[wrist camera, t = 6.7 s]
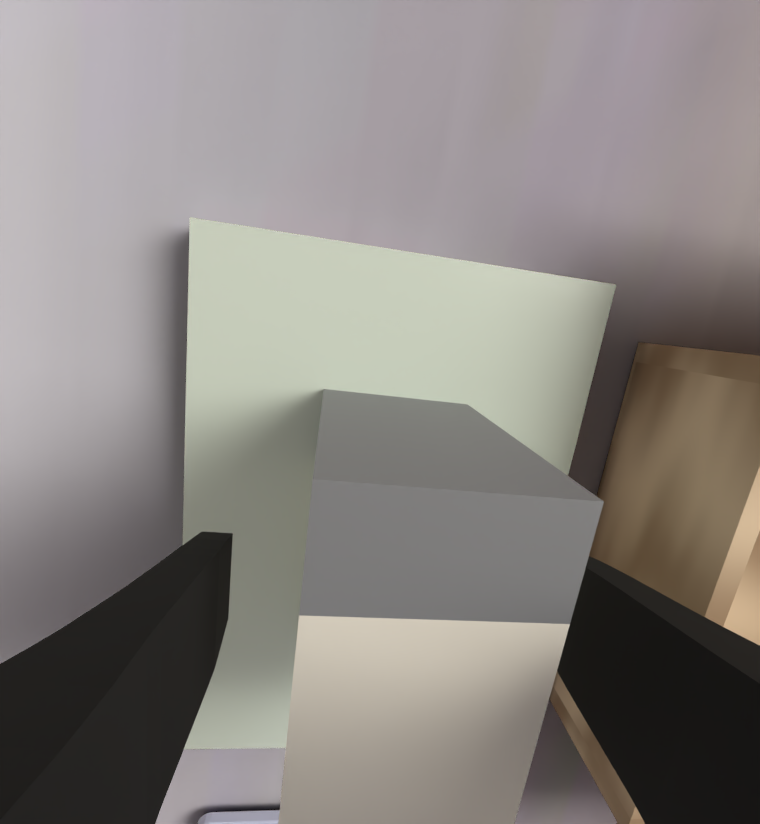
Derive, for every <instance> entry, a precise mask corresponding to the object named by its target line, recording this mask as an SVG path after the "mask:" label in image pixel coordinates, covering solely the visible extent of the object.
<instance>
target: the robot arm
mask: <svg viewBox="0 0 760 824" xmlns="http://www.w3.org/2000/svg"><path fill="white" fill-rule="evenodd" d="M232 539H233V533H220V532H200V533H199V534H198V535H196V536H195V537H193V538H192V539H191V540H189V541H188V542H187V543H185V544H184V545H182V546H181V547H180V548H178V549H177V550H176V551H174V552H173V553H172V554H170V555H169V556H168V557H166V558H165V559H164V560H162V561H161V562H160V563H158V564H157V565H155V566H154V567H153V568H151V569H150V570H148V571H147V572H146V573H144V574H143V575H142V576H140V577H139V578H137V579H136V580H135V581H133V582H132V583H130V584H129V585H128V586H126V587H125V588H123V589H122V590H120V591H119V592H117V593H116V594H114V595H113V596H111V597H109V598H108V599H106V600H105V601H103V602H102V603H100V604H99V605H97V606H96V607H94V608H93V609H91V610H90V611H88V612H86V613H85V614H83V615H82V616H80V617H79V618H77V619H76V620H74V621H73V622H71V623H70V624H68V625H67V626H65V627H63V628H62V629H60V630H58V631H57V632H55V633H53V634H52V635H50V636H48V637H47V638H45V639H43V640H42V641H40V642H38V643H37V644H35V645H33V646H31V647H30V648H28V649H26V650H24V651H23V652H21V653H19V654H17V655H15V656H14V657H12V658H10V659H8V660H7V661H5V662H3V663H1V664H0V824H155V822H156V819H157V817H158V814H159V811H160V808H161V806H162V803H163V801H164V798H165V796H166V793H167V790H168V788H169V785H170V783H171V780H172V778H173V775H174V773H175V770H176V767H177V765H178V762H179V760H180V757H181V755H182V752H183V750H184V747H185V744H186V742H187V739H188V737H189V734H190V732H191V729H192V727H193V724H194V721H195V719H196V716H197V714H198V711H199V709H200V706H201V703H202V701H203V698H204V696H205V693H206V690H207V688H208V685H209V683H210V680H211V677H212V675H213V672H214V669H215V666H216V662H217V659H218V655H219V651H220V648H221V644H222V640H223V637H224V633H225V629H226V625H227V622H228V614H229V595H230V577H231V558H232ZM557 671H558V674H559V676H560V677H561V679H562V681H563V683H564V684H565V686H566V688H567V690H568V691H569V693H570V695H571V697H572V698H573V700H574V702H575V704H576V705H577V707H578V709H579V710H580V712H581V714H582V716H583V717H584V719H585V721H586V722H587V724H588V726H589V727H590V729H591V731H592V733H593V734H594V736H595V738H596V739H597V741H598V743H599V744H600V746H601V748H602V749H603V751H604V753H605V755H606V756H607V758H608V760H609V761H610V763H611V765H612V766H613V768H614V770H615V771H616V773H617V775H618V777H619V778H620V780H621V782H622V783H623V785H624V787H625V788H626V790H627V792H628V793H629V795H630V797H631V799H632V801H633V802H634V804H635V806H636V808H637V810H638V812H639V813H640V815H641V817H642V819H643V821H644V822H645V824H760V645H758V644H756V643H754V642H752V641H750V640H748V639H746V638H744V637H742V636H740V635H738V634H736V633H734V632H732V631H730V630H728V629H726V628H724V627H722V626H721V625H719V624H717V623H715V622H713V621H711V620H709V619H707V618H706V617H704V616H702V615H700V614H698V613H696V612H694V611H692V610H691V609H689V608H687V607H685V606H683V605H681V604H680V603H678V602H676V601H674V600H672V599H671V598H669V597H667V596H665V595H663V594H661V593H660V592H658V591H656V590H654V589H652V588H650V587H649V586H647V585H645V584H643V583H641V582H640V581H638V580H636V579H634V578H632V577H630V576H629V575H627V574H625V573H623V572H621V571H619V570H617V569H615V568H613V567H611V566H609V565H607V564H605V563H603V562H601V561H599V560H597V559H595V558H593V557H590V556H589V557H588V561H587V565H586V568H585V572H584V575H583V579H582V583H581V586H580V590H579V593H578V597H577V601H576V604H575V608H574V611H573V615H572V619H571V622H570V626H569V629H568V633H567V637H566V640H565V644H564V647H563V651H562V655H561V658H560V662H559V665H558V669H557ZM279 812H280V810H261V811H229V812H210V813H206V814H204V815H203V816H201V818H200V819H199V820H198V824H278V822H279Z"/></svg>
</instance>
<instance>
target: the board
mask: <svg viewBox="0 0 760 824" xmlns="http://www.w3.org/2000/svg"><path fill="white" fill-rule="evenodd" d="M615 288H616V284H610V283H604V282H597V281H591V280H585V279H578V278H572V277H566V276H559V275H553V274H547V273H540V272H534V271H527V270H521V269H515V268H508V267H502V266H496V265H489V264H483V263H477V262H470V261H464V260H458V259H451V258H445V257H439V256H432V255H426V254H420V253H413V252H407V251H400V250H394V249H388V248H381V247H375V246H369V245H362V244H356V243H350V242H343V241H337V240H331V239H324V238H318V237H312V236H305V235H299V234H293V233H286V232H280V231H273V230H267V229H261V228H254V227H248V226H242V225H235V224H229V223H223V222H216V221H210V220H204V219H197V218H191V217H190V229H189V274H188V318H187V363H186V408H185V453H184V498H183V543H182V545H184V544H185V543H187V542H188V541H189V540H191V539H192V538H193V537H195V536H196V535H198V534H199V533H200V532H220V533H233V539H232V558H231V577H230V595H229V614H228V622H227V625H226V629H225V633H224V637H223V640H222V644H221V648H220V651H219V655H218V659H217V662H216V666H215V669H214V672H213V675H212V677H211V680H210V683H209V685H208V688H207V690H206V693H205V696H204V698H203V701H202V703H201V706H200V709H199V711H198V714H197V716H196V719H195V721H194V724H193V727H192V729H191V732H190V734H189V737H188V739H187V742H186V744H185V747H184V749H242V748H286V741H287V731H288V721H289V711H290V701H291V691H292V681H293V671H294V661H295V651H296V641H297V631H298V621H299V610H300V600H301V590H302V580H303V570H304V560H305V550H306V540H307V530H308V520H309V510H310V500H311V490H312V480H313V472H314V463H315V455H316V447H317V439H318V431H319V423H320V415H321V407H322V399H323V391H324V389H329V390H339V391H348V392H357V393H367V394H376V395H385V396H395V397H404V398H413V399H422V400H432V401H441V402H450V403H460V404H468V405H469V406H471V407H472V408H473V409H475V410H476V411H478V412H479V413H480V414H482V415H483V416H485V417H486V418H487V419H489V420H490V421H492V422H493V423H494V424H496V425H497V426H499V427H500V428H501V429H503V430H504V431H506V432H507V433H508V434H510V435H511V436H513V437H514V438H515V439H517V440H518V441H520V442H521V443H522V444H524V445H525V446H527V447H528V448H529V449H531V450H532V451H534V452H535V453H536V454H538V455H539V456H541V457H542V458H543V459H545V460H546V461H548V462H549V463H550V464H552V465H553V466H555V467H556V468H557V469H559V470H560V471H562V472H563V473H564V474H566V475H567V476H568V474H569V470H570V466H571V462H572V458H573V454H574V450H575V446H576V442H577V438H578V434H579V430H580V426H581V422H582V419H583V415H584V411H585V407H586V403H587V399H588V395H589V391H590V387H591V383H592V379H593V375H594V371H595V367H596V363H597V359H598V355H599V351H600V347H601V343H602V339H603V335H604V331H605V327H606V323H607V319H608V315H609V311H610V307H611V304H612V300H613V296H614V292H615Z"/></svg>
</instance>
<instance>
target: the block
mask: <svg viewBox="0 0 760 824" xmlns="http://www.w3.org/2000/svg"><path fill="white" fill-rule="evenodd" d="M603 503H604V501H602V500H601V499H600V498H598V497H597V496H595V495H594V494H593V493H591V492H590V491H588V490H587V489H586V488H584V487H583V486H581V485H580V484H579V483H577V482H576V481H574V480H573V479H572V478H570V477H569V476H567V475H566V474H564V473H563V472H562V471H560V470H559V469H557V468H556V467H555V466H553V465H552V464H550V463H549V462H548V461H546V460H545V459H543V458H542V457H541V456H539V455H538V454H536V453H535V452H534V451H532V450H531V449H529V448H528V447H527V446H525V445H524V444H522V443H521V442H520V441H518V440H517V439H515V438H514V437H513V436H511V435H510V434H508V433H507V432H506V431H504V430H503V429H501V428H500V427H499V426H497V425H496V424H494V423H493V422H492V421H490V420H489V419H487V418H486V417H485V416H483V415H482V414H480V413H479V412H478V411H476V410H475V409H473V408H472V407H471V406H469V405H468V404H460V403H450V402H441V401H432V400H422V399H413V398H404V397H395V396H385V395H376V394H367V393H357V392H348V391H339V390H329V389H324V391H323V399H322V407H321V415H320V423H319V431H318V439H317V447H316V455H315V463H314V472H313V480H312V490H311V500H310V510H309V520H308V530H307V540H306V550H305V560H304V570H303V580H302V590H301V600H300V610H299V621H298V631H297V641H296V651H295V661H294V671H293V681H292V691H291V701H290V711H289V721H288V731H287V741H286V751H285V761H284V771H283V782H282V792H281V802H280V812H279V822H278V824H515V820H516V816H517V813H518V809H519V806H520V802H521V798H522V795H523V791H524V788H525V784H526V780H527V777H528V773H529V770H530V766H531V762H532V759H533V755H534V752H535V748H536V744H537V741H538V737H539V734H540V730H541V727H542V723H543V719H544V716H545V712H546V709H547V705H548V701H549V698H550V694H551V691H552V687H553V683H554V680H555V676H556V673H557V669H558V665H559V662H560V658H561V655H562V651H563V647H564V644H565V640H566V637H567V633H568V629H569V626H570V622H571V619H572V615H573V611H574V608H575V604H576V601H577V597H578V593H579V590H580V586H581V583H582V579H583V575H584V572H585V568H586V565H587V561H588V557H589V554H590V550H591V547H592V543H593V539H594V536H595V532H596V529H597V525H598V521H599V518H600V514H601V511H602V507H603Z"/></svg>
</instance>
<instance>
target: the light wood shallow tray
mask: <svg viewBox="0 0 760 824" xmlns="http://www.w3.org/2000/svg"><path fill="white" fill-rule="evenodd" d="M597 497H598V498H600V499H601V500H602V501H604V503H603V507H602V511H601V514H600V518H599V521H598V525H597V529H596V532H595V536H594V539H593V543H592V547H591V550H590V554H589V556H590V557H593V558H595V559H597V560H599V561H601V562H603V563H605V564H607V565H609V566H611V567H613V568H615V569H617V570H619V571H621V572H623V573H625V574H627V575H629V576H630V577H632V578H634V579H636V580H638V581H640V582H641V583H643V584H645V585H647V586H649V587H650V588H652V589H654V590H656V591H658V592H660V593H661V594H663V595H665V596H667V597H669V598H671V599H672V600H674V601H676V602H678V603H680V604H681V605H683V606H685V607H687V608H689V609H691V610H692V611H694V612H696V613H698V614H700V615H702V616H704V617H706V618H707V619H709V620H711V621H713V622H715V623H717V624H719V625H721V626H722V627H724V628H726V629H728V630H730V631H732V632H734V633H736V634H738V635H740V636H742V637H744V638H746V639H748V640H750V641H752V642H754V643H756V644H758V645H760V355H751V354H742V353H733V352H724V351H715V350H706V349H696V348H687V347H678V346H669V345H660V344H651V343H641V342H639V343H638V347H637V351H636V354H635V358H634V362H633V365H632V369H631V373H630V376H629V380H628V384H627V387H626V391H625V395H624V398H623V402H622V406H621V409H620V413H619V417H618V420H617V424H616V428H615V431H614V435H613V439H612V442H611V446H610V450H609V453H608V457H607V461H606V464H605V468H604V472H603V475H602V479H601V483H600V486H599V490H598V494H597ZM549 699H550V701H551V703H552V705H553V706H554V708H555V710H556V712H557V714H558V716H559V717H560V719H561V721H562V723H563V725H564V726H565V728H566V730H567V732H568V734H569V735H570V737H571V739H572V741H573V743H574V744H575V746H576V748H577V750H578V752H579V753H580V755H581V757H582V759H583V761H584V763H585V764H586V766H587V768H588V770H589V772H590V773H591V775H592V777H593V779H594V781H595V782H596V784H597V786H598V788H599V790H600V791H601V793H602V795H603V797H604V799H605V801H606V802H607V804H608V806H609V808H610V810H611V811H612V813H613V815H614V817H615V819H616V820H617V822H618V823H617V824H645V822H644V821H643V819H642V817H641V815H640V813H639V812H638V810H637V808H636V806H635V804H634V802H633V801H632V799H631V797H630V795H629V793H628V792H627V790H626V788H625V787H624V785H623V783H622V782H621V780H620V778H619V777H618V775H617V773H616V771H615V770H614V768H613V766H612V765H611V763H610V761H609V760H608V758H607V756H606V755H605V753H604V751H603V749H602V748H601V746H600V744H599V743H598V741H597V739H596V738H595V736H594V734H593V733H592V731H591V729H590V727H589V726H588V724H587V722H586V721H585V719H584V717H583V716H582V714H581V712H580V710H579V709H578V707H577V705H576V704H575V702H574V700H573V698H572V697H571V695H570V693H569V691H568V690H567V688H566V686H565V684H564V683H563V681H562V679H561V677H560V676H559V674H558V671H557V673H556V676H555V680H554V683H553V687H552V691H551V694H550V698H549Z"/></svg>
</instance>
